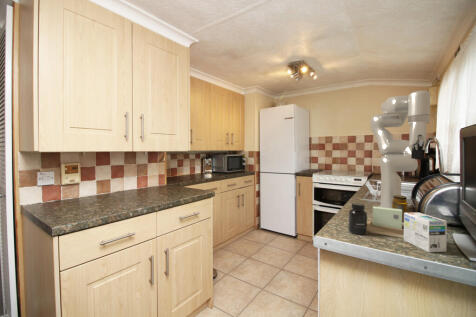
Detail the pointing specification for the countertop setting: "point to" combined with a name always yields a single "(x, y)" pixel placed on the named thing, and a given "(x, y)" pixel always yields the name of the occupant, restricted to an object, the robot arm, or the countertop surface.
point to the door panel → (387, 217)
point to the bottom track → (385, 230)
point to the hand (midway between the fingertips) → (417, 159)
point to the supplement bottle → (357, 219)
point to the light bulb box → (425, 232)
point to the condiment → (400, 204)
